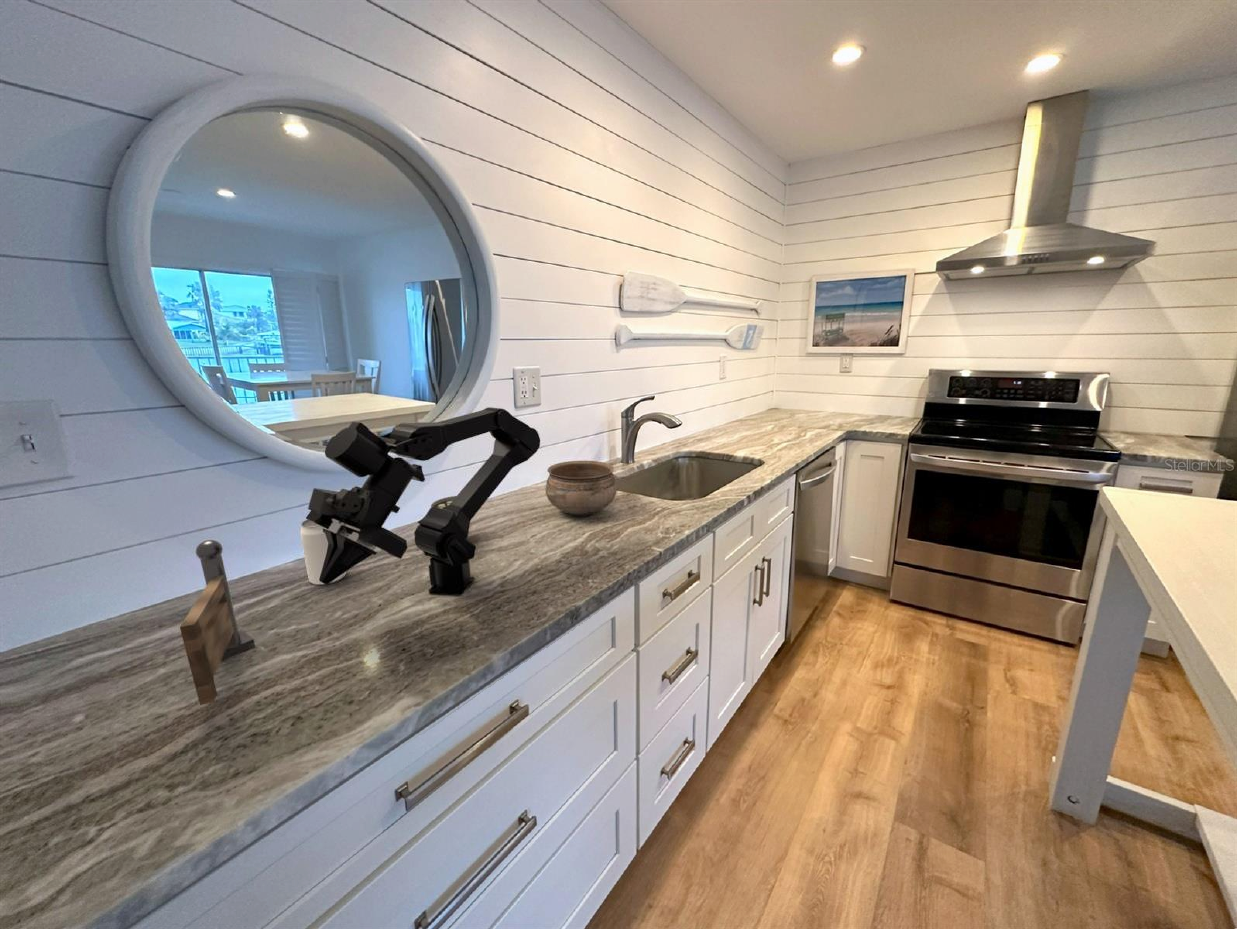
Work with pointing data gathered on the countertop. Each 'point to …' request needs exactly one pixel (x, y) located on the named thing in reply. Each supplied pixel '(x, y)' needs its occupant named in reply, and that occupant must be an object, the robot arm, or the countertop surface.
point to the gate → (209, 636)
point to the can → (315, 550)
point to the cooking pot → (581, 486)
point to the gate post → (213, 567)
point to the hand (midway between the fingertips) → (323, 582)
